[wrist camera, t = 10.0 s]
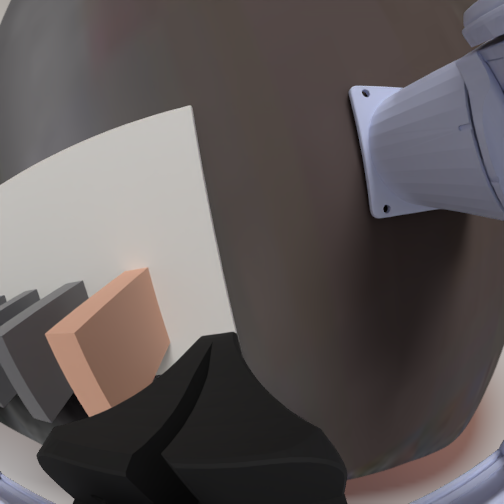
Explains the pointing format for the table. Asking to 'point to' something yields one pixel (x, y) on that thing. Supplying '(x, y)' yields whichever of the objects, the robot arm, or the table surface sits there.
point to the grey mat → (121, 224)
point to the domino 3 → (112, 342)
